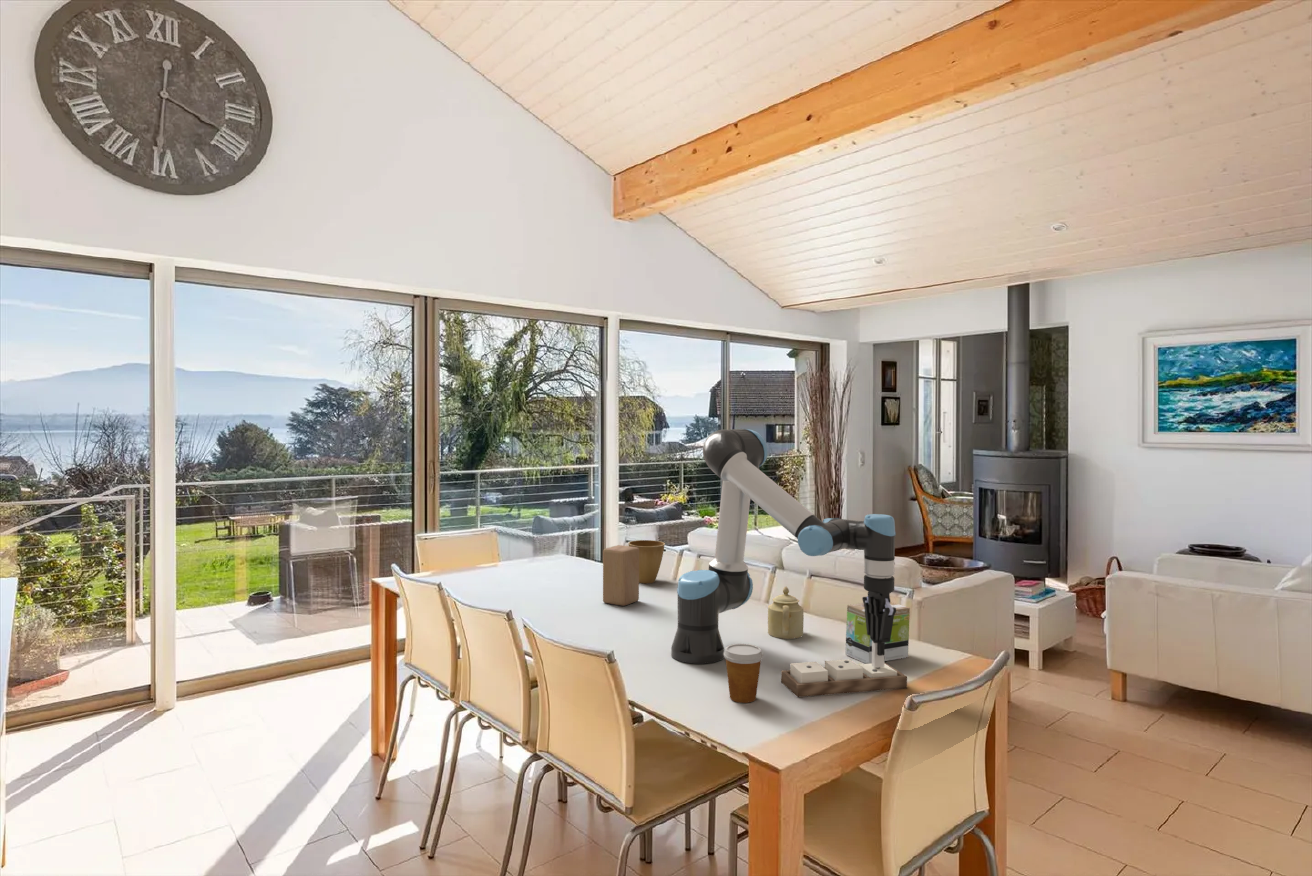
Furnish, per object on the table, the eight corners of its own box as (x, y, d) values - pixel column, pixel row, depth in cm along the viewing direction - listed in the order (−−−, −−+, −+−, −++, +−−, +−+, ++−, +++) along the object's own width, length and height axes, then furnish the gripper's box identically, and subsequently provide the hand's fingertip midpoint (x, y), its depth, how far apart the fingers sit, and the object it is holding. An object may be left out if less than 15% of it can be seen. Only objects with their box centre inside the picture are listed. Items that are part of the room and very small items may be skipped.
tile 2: (837, 683, 185) (837, 669, 185) (824, 673, 192) (824, 660, 192) (862, 681, 187) (863, 667, 187) (849, 671, 194) (849, 658, 193)
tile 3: (871, 686, 187) (872, 672, 187) (858, 676, 194) (858, 663, 194) (897, 684, 189) (897, 670, 189) (882, 674, 196) (883, 661, 196)
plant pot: (624, 584, 300) (625, 545, 299) (632, 577, 314) (632, 539, 314) (661, 586, 297) (661, 546, 297) (666, 578, 312) (667, 540, 312)
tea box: (869, 666, 204) (870, 612, 204) (844, 655, 213) (845, 604, 213) (909, 658, 211) (910, 606, 211) (883, 648, 220) (884, 598, 220)
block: (639, 601, 274) (640, 547, 273) (624, 607, 265) (624, 551, 265) (617, 597, 279) (618, 544, 278) (601, 603, 271) (602, 548, 270)
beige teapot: (816, 641, 227) (816, 592, 226) (783, 644, 223) (783, 594, 223) (793, 627, 241) (793, 581, 240) (761, 630, 238) (762, 583, 237)
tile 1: (801, 685, 183) (801, 672, 183) (790, 676, 190) (790, 662, 190) (827, 683, 185) (828, 670, 185) (815, 674, 192) (815, 661, 191)
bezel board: (797, 697, 181) (797, 685, 181) (781, 682, 191) (781, 670, 191) (906, 688, 188) (907, 676, 187) (885, 674, 198) (885, 663, 198)
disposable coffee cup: (766, 705, 176) (767, 655, 176) (726, 706, 175) (727, 656, 175) (757, 690, 186) (758, 642, 185) (720, 691, 185) (720, 643, 184)
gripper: (906, 580, 185) (905, 674, 186) (879, 569, 198) (878, 657, 199) (878, 581, 184) (877, 676, 184) (853, 570, 196) (852, 659, 197)
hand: (878, 666), depth 191 cm, fingers closed
